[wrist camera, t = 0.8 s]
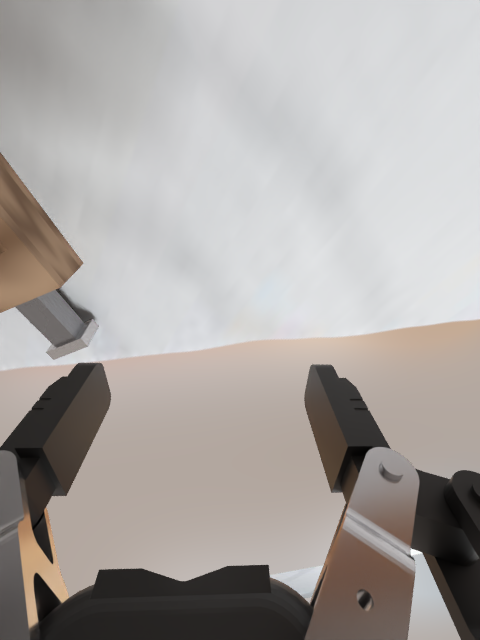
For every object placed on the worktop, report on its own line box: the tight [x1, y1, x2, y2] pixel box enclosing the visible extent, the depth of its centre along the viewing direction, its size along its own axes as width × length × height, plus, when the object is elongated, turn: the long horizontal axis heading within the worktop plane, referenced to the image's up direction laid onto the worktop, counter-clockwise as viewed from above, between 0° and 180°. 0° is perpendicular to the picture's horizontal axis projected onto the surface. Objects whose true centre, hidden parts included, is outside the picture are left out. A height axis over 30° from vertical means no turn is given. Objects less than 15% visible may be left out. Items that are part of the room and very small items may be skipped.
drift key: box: [15, 290, 99, 359], centre depth 29 cm, size 12×4×4 cm, turn 21°
